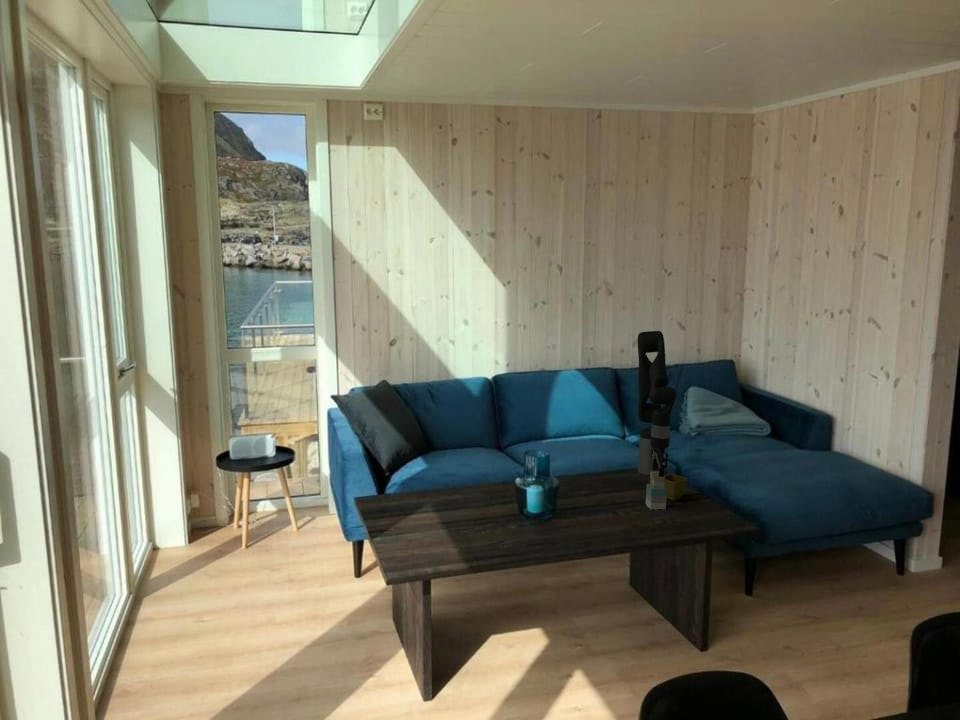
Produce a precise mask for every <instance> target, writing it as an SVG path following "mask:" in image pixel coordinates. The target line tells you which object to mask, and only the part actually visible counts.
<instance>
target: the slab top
mask: <svg viewBox="0 0 960 720" xmlns="http://www.w3.org/2000/svg"><path fill="white" fill-rule="evenodd" d="M645 490H646V493H647V492H648V493H649V494H650V496H666V494H667V489H666V488H665V487H664V488H653V487H652V486H651V485H650V483H646V489H645Z"/></svg>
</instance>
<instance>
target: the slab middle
mask: <svg viewBox="0 0 960 720" xmlns="http://www.w3.org/2000/svg"><path fill="white" fill-rule="evenodd" d="M646 498H647V499H648V500H649V501H650V502H651V503H666V504H667V499H668V498H667V495H666V496H650V494H649V493H648V492H647V491H646V495H645V499H646Z"/></svg>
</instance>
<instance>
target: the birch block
mask: <svg viewBox="0 0 960 720" xmlns="http://www.w3.org/2000/svg"><path fill="white" fill-rule="evenodd" d="M665 476H666V474H664V477H659V471H658V472H651V473H650V475H649V477H650V478H649V484H650V485H651V486H652V487H653V488H664V484H665Z"/></svg>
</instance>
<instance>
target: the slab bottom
mask: <svg viewBox="0 0 960 720" xmlns="http://www.w3.org/2000/svg"><path fill="white" fill-rule="evenodd" d="M645 506H647V508H648V509H649V508H650V509H649V510H651V511H652V509H654V510H653V511H658V510H657V509H663V510H666V509H667V502H666V503H651V502H650V501H649V500H648V499H647V498H646V497H645Z"/></svg>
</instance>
